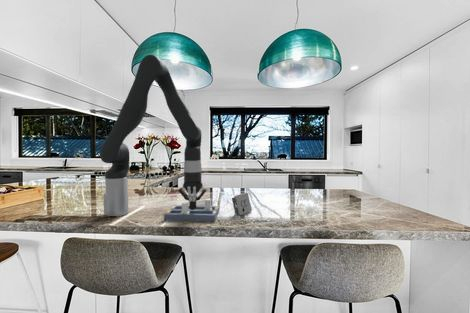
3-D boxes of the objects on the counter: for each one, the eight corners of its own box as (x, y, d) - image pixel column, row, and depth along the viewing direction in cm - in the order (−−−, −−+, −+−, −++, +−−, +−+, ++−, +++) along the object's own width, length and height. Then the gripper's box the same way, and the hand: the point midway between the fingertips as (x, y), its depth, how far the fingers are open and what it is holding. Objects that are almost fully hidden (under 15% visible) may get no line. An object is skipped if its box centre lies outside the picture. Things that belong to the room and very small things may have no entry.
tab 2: (203, 212, 106) (203, 200, 105) (205, 209, 109) (205, 198, 109) (211, 212, 106) (211, 200, 105) (212, 210, 109) (212, 198, 109)
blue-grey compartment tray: (164, 220, 98) (164, 213, 98) (174, 210, 112) (174, 205, 112) (214, 221, 97) (214, 214, 97) (219, 211, 111) (219, 205, 111)
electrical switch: (240, 216, 104) (239, 195, 104) (231, 215, 107) (230, 195, 107) (252, 211, 111) (250, 192, 111) (243, 210, 115) (242, 192, 115)
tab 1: (180, 216, 100) (180, 203, 100) (182, 213, 103) (182, 201, 103) (188, 216, 100) (187, 203, 99) (190, 213, 103) (189, 201, 103)
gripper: (175, 171, 97) (175, 211, 98) (206, 171, 96) (206, 212, 97) (180, 169, 104) (180, 206, 105) (209, 169, 104) (209, 207, 105)
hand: (193, 209), depth 101 cm, fingers closed
